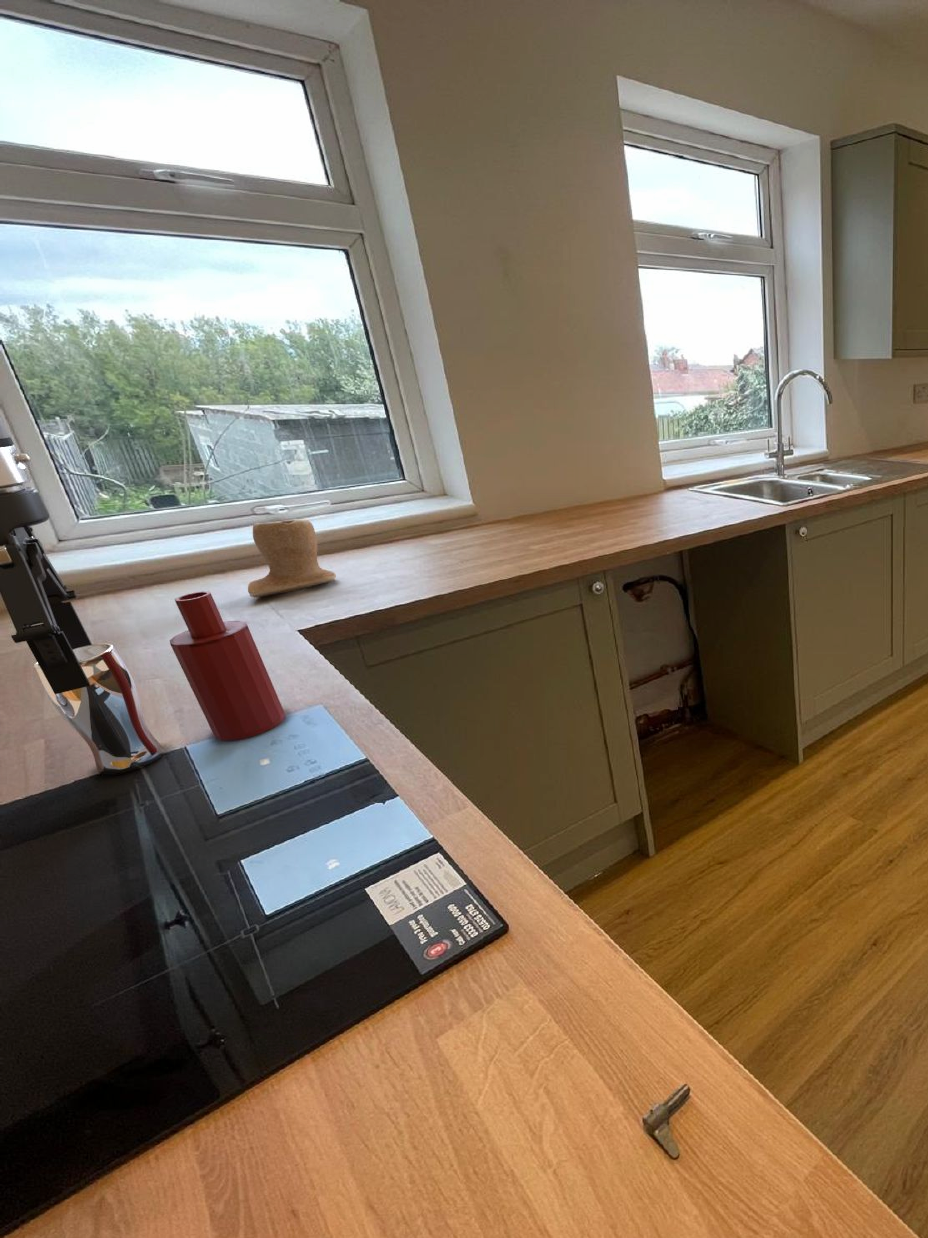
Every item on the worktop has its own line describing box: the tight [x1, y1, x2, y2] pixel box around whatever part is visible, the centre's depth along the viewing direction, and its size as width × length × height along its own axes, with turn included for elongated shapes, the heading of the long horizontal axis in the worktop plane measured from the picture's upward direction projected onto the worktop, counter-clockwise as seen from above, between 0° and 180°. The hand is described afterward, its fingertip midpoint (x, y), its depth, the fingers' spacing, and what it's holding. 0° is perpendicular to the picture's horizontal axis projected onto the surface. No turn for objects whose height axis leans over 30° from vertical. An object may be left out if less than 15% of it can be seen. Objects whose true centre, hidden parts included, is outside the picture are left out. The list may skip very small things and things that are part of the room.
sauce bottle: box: [169, 590, 286, 742], centre depth 88 cm, size 8×8×19 cm
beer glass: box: [33, 642, 165, 777], centre depth 82 cm, size 7×7×15 cm
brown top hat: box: [247, 518, 337, 598], centre depth 144 cm, size 15×12×15 cm
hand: (76, 670), depth 80 cm, fingers open, 13 cm apart
